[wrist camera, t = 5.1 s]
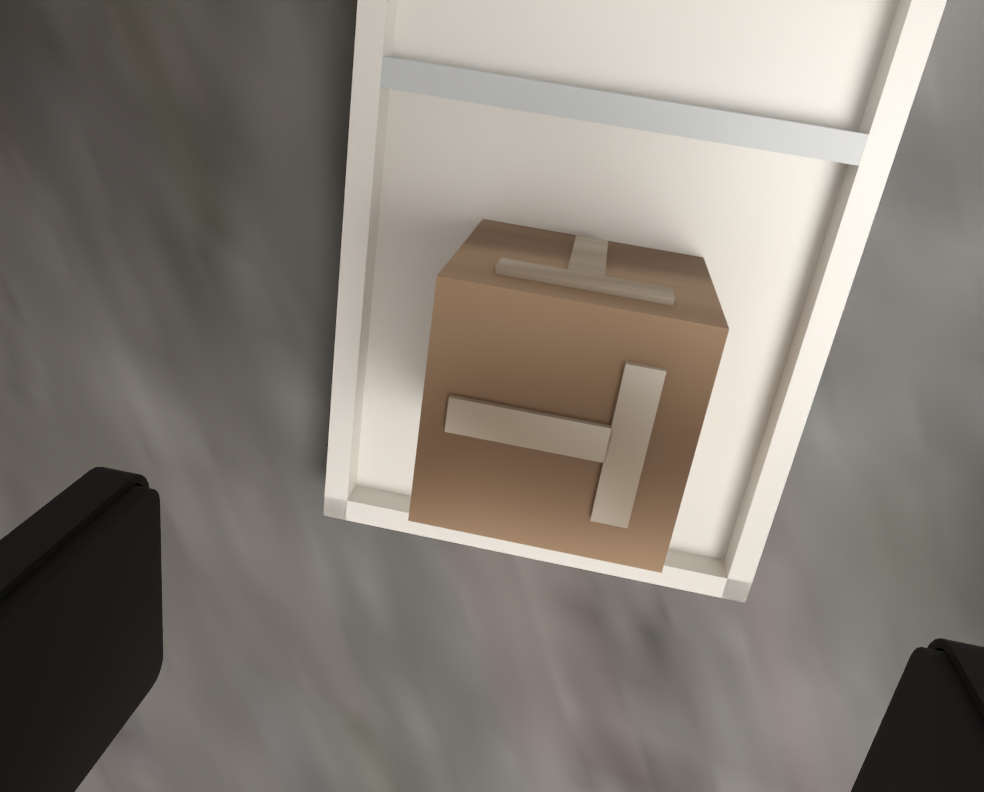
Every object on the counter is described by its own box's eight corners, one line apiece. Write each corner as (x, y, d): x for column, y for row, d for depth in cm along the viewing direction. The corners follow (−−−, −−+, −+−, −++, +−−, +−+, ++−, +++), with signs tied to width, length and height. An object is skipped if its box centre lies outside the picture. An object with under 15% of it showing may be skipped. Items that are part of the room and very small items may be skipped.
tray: (427, -628, 14) (404, -707, 12) (1101, -565, 13) (1161, -642, 12) (342, 485, 23) (323, 515, 21) (737, 566, 22) (745, 602, 21)
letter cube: (483, 213, 19) (435, 270, 14) (705, 251, 18) (732, 323, 14) (455, 415, 21) (406, 524, 16) (653, 453, 20) (661, 576, 16)
